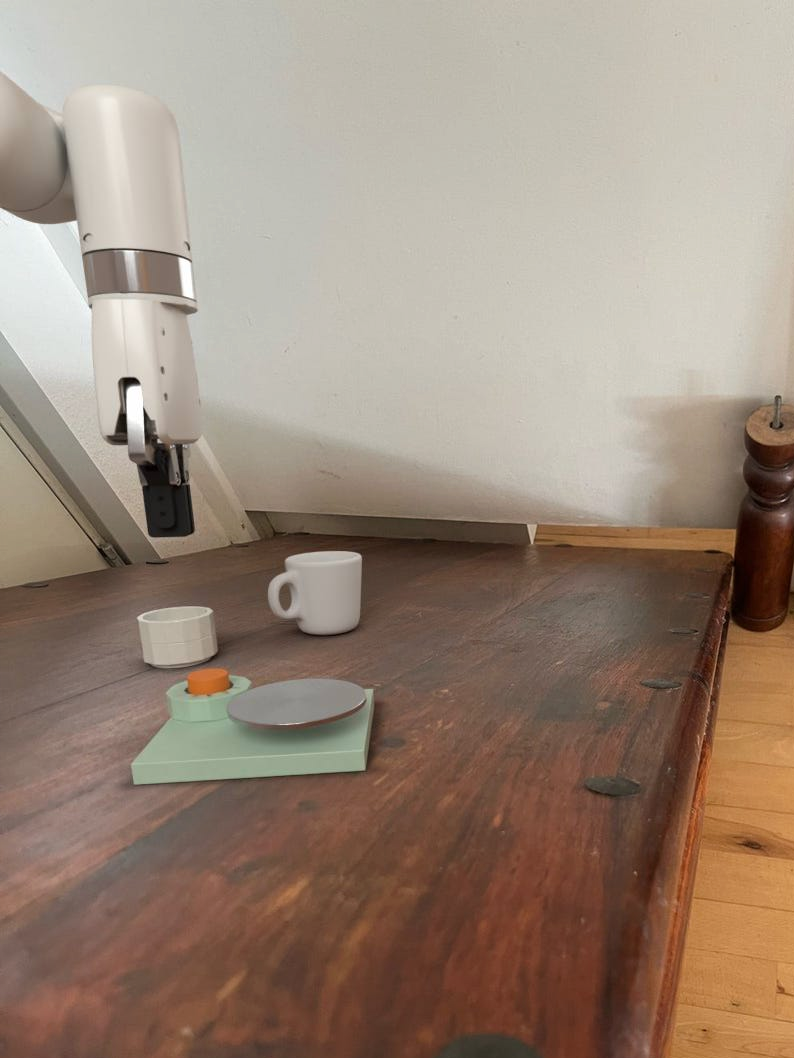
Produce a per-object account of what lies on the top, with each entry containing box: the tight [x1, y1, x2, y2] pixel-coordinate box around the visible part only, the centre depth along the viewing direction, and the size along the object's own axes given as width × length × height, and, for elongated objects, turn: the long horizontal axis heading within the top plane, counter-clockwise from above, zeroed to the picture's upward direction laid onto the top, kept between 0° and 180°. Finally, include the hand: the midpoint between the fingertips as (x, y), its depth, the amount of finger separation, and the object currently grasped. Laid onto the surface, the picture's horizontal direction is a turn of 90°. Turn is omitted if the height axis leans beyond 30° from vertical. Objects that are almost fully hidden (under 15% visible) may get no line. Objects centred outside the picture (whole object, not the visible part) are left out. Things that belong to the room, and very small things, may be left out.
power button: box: [186, 668, 230, 695], centre depth 55 cm, size 3×3×1 cm
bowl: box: [136, 605, 219, 669], centre depth 73 cm, size 7×7×4 cm
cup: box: [267, 550, 363, 636], centre depth 81 cm, size 11×8×8 cm
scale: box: [130, 674, 375, 786], centre depth 53 cm, size 14×12×3 cm
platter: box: [227, 678, 366, 730], centre depth 51 cm, size 9×9×1 cm
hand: (172, 535), depth 62 cm, fingers closed
